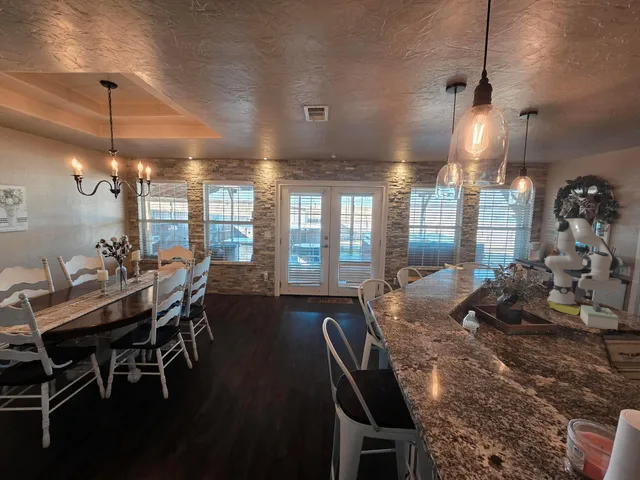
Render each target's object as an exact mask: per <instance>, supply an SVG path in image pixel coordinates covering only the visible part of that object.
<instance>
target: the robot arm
mask: <svg viewBox="0 0 640 480" xmlns="http://www.w3.org/2000/svg"><path fill="white" fill-rule="evenodd" d="M554 229H555V230H556V231H557V232H558V236H557V243H556V249H557V250H558V251H560V252H562V253H564V254H565V255H550V256H549V255H548V256H547V257H546V258H545V260H544V264H545V266H546V267H547V268H548V269H550V270H551V272H552V273H553V277H554V278H553V279H554V283H553V286H552V290H551V291H549V293H548V294H549V296H547V299H548V301H550V302H554V303H557V304H561V305H567V306H569V305H577V302H576V301H575V293H574V292H573V277H572V275H570V274H568V273H566V272H564V270H570V271H571V270H573V271H578V270H579V271H580V270H582V269H588V270H590V272H588V273H581V275H580V276H581V277H580V278H579V280H578V282H577V287H578V288H579V289H581V290H584V292H585V293H586V295H585V296H586V297H590V296H591V293H590V292H588V291H598V292H600V291H601V292H608V294H605V298H606V299H610V296H611V295H612V294H613V293H621V285H622V279H619V277H618V278H617V277H610V271H611V272H614V271H615V270H617V269H618V268H619V267H620V260H619V259H618V258H617V257H616V256H615V254H613V252H612V250H611V249H610V247H609V246H608V245H607V243H606V241H605V240H604V239H603V238H602V237H600V236H598V235H597V234H596V233H595V232H594V231H593V223H592V221H591V219H589V218H580V217H579V218H577V217H576V218H575V217H574V218H559V219H557V220H556V221H555V224H554ZM576 242H577V243H579V244H581V245H582V244H583V245H587V246H591V247H593V248H595V249H597V250H598V251H595V252H593V253H592V254H590V255H584V257H582V256H580V255H579V254H578V252H577V251H576Z"/></svg>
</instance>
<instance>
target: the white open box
mask: <svg viewBox="0 0 640 480" xmlns="http://www.w3.org/2000/svg"><path fill="white" fill-rule="evenodd" d="M602 310H605V309H602ZM579 313H580V315H579V316H580V319H581V321H583V323H584V324H585V326H586V327H588V328H593V329H595V328H596V329H602V330H607V329H616V330H617V331H618V326H619V319H618V320H612V319H605V318H598V317H591V316H588V315H587V314H586V313H585V312H584V311H583V310H582V308H581V307H580V312H579ZM608 315H610V314H608Z"/></svg>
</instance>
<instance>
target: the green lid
mask: <svg viewBox="0 0 640 480" xmlns="http://www.w3.org/2000/svg"><path fill="white" fill-rule="evenodd" d="M581 308H582V310H583V311H584V312H585V313H586V314H587V315H588V316H591V317H598V318H605V319H612V320H618V321H619V316H618V315H617V314H616V313H614V312H613V311H612V310H611V309H609V308H608V307H601V305H599V304H598V303H592V305H585V304H580V309H581ZM602 309H605V310H602ZM608 314H610V315H608Z"/></svg>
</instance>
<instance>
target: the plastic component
mask: <svg viewBox="0 0 640 480" xmlns="http://www.w3.org/2000/svg"><path fill="white" fill-rule="evenodd" d="M546 302H547V303H548V305H549V308H550V309H552V310H556V311H557V312H561V313H565V314H567V315H570V316H571V315H572V316H578V315H579V313H581V306H579V307H574V306H569V305H566V304H559V303H555V302H552V301H548V298H547V299H546Z"/></svg>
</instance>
